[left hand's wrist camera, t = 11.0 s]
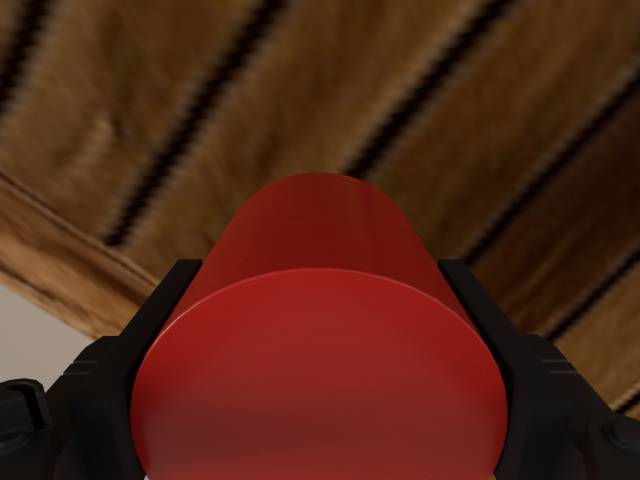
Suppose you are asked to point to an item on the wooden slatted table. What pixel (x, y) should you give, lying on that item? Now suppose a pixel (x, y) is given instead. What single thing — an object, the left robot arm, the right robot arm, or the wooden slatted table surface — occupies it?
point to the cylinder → (319, 352)
